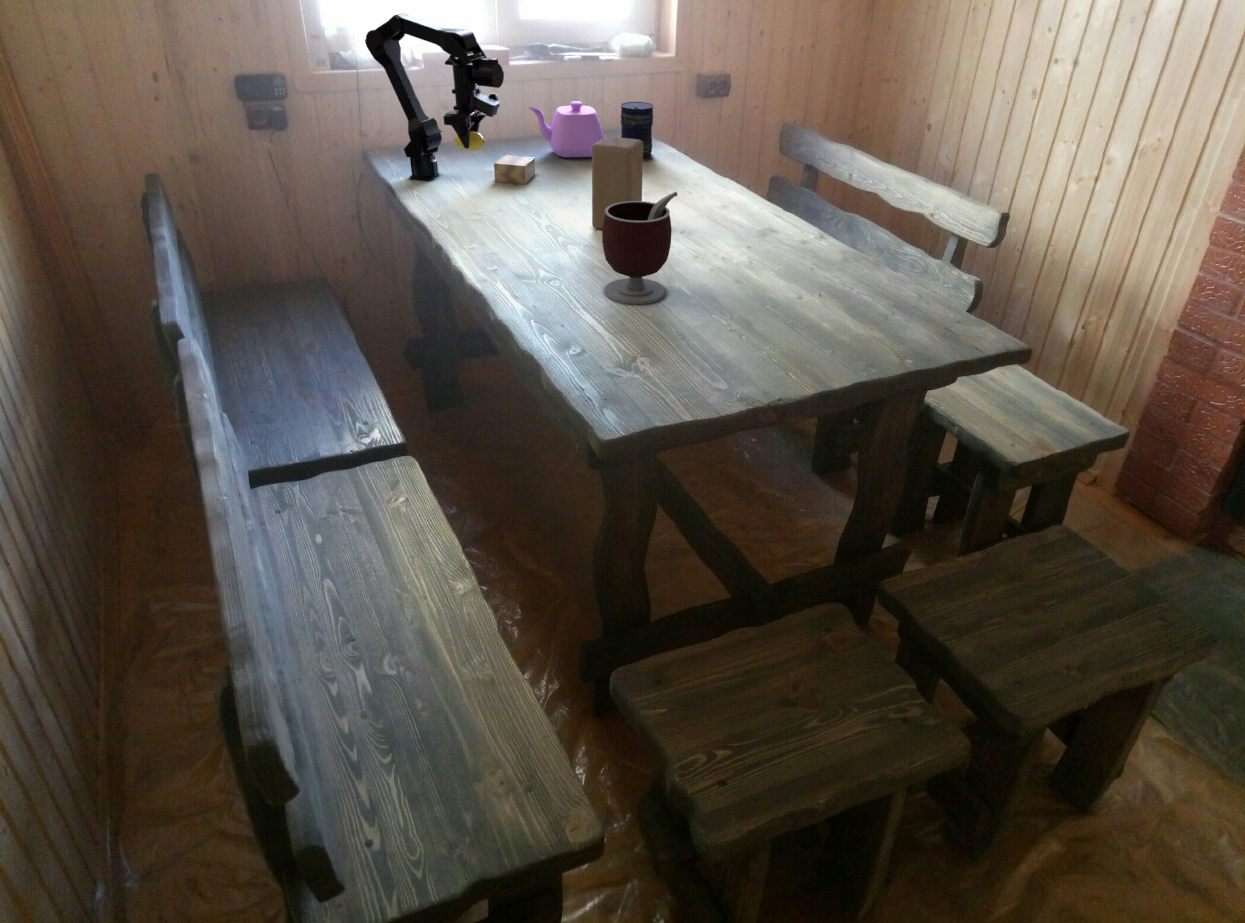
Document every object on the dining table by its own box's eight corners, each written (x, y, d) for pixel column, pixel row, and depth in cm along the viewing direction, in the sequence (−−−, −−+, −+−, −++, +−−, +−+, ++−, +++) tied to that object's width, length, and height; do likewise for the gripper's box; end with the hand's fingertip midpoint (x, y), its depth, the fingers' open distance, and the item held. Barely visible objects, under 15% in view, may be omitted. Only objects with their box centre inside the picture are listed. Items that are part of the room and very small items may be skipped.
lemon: (451, 151, 236) (450, 132, 234) (458, 146, 240) (457, 128, 237) (483, 153, 235) (481, 134, 232) (489, 149, 238) (488, 130, 236)
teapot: (597, 142, 283) (597, 92, 274) (607, 160, 265) (607, 107, 257) (527, 144, 279) (524, 94, 271) (532, 162, 262) (529, 109, 254)
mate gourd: (617, 310, 175) (619, 211, 164) (591, 284, 185) (591, 190, 174) (687, 298, 180) (692, 201, 169) (658, 274, 191) (661, 182, 179)
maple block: (494, 181, 246) (493, 163, 243) (505, 172, 253) (504, 154, 250) (525, 184, 244) (524, 165, 241) (535, 175, 251) (534, 157, 249)
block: (642, 221, 219) (644, 139, 208) (629, 234, 211) (631, 149, 200) (604, 216, 222) (605, 134, 211) (590, 229, 214) (590, 144, 203)
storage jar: (622, 151, 274) (623, 101, 266) (653, 153, 273) (655, 102, 265) (617, 160, 266) (618, 108, 257) (649, 161, 265) (651, 109, 256)
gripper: (481, 93, 219) (486, 157, 228) (506, 79, 234) (510, 139, 243) (439, 90, 221) (446, 154, 230) (467, 77, 236) (472, 137, 245)
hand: (470, 146), depth 237 cm, fingers closed on lemon, 5 cm apart
